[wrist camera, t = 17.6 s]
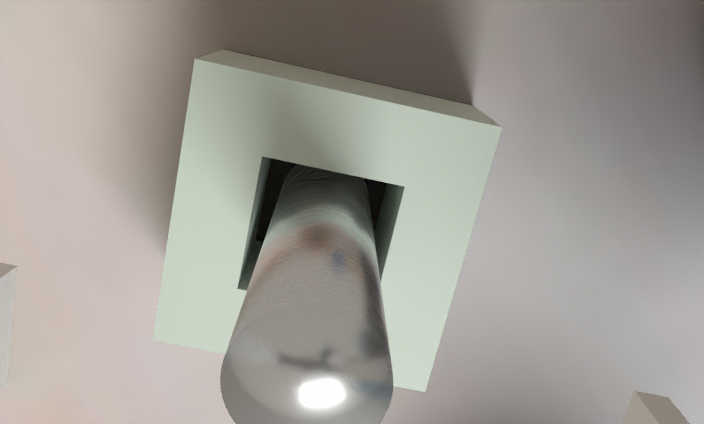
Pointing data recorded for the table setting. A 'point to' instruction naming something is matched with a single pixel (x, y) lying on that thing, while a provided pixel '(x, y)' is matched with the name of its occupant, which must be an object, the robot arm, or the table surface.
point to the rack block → (329, 154)
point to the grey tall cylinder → (312, 312)
